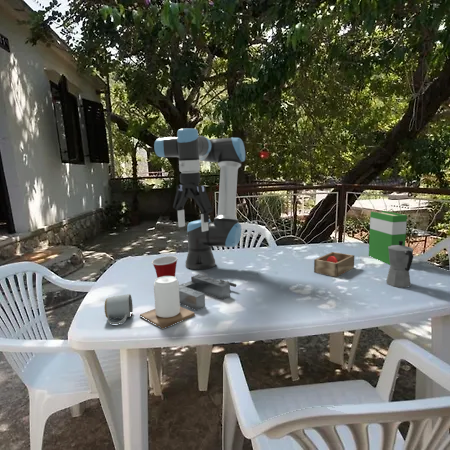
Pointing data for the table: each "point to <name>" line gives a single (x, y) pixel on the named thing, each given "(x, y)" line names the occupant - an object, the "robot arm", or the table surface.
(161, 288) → the beverage can
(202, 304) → the c-clamp
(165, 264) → the plastic cup
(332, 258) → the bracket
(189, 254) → the robot arm
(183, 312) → the pad
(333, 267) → the crate frame
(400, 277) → the coffeepot
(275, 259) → the table surface
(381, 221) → the green cereal box
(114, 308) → the ceramic mug
